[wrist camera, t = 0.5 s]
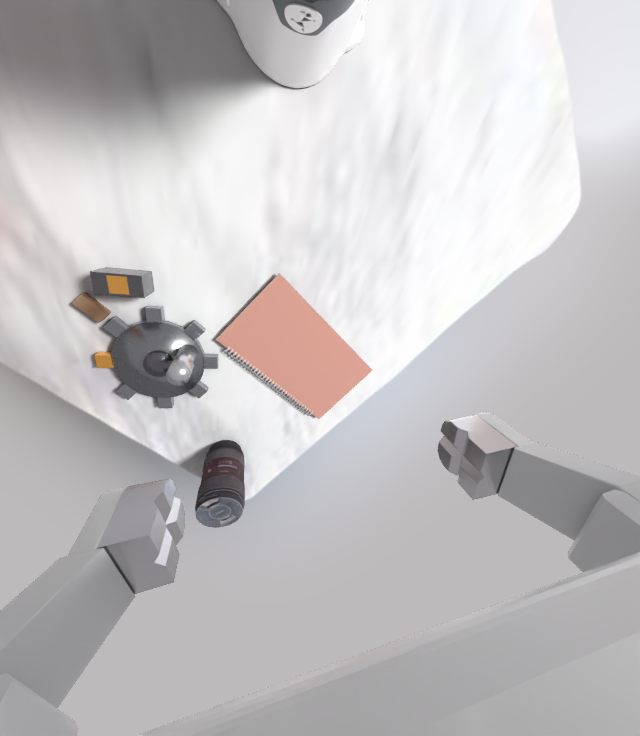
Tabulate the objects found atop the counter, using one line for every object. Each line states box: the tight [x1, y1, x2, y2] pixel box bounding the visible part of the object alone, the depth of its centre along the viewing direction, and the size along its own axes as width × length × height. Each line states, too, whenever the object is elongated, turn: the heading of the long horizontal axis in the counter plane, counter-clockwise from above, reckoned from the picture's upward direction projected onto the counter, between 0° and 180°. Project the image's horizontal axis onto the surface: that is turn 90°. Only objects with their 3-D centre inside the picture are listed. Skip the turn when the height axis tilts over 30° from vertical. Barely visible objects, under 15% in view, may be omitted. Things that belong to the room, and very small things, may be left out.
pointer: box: [72, 293, 111, 323], centre depth 42 cm, size 4×2×2 cm, turn 38°
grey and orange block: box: [90, 267, 154, 298], centre depth 40 cm, size 3×6×5 cm, turn 83°
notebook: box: [216, 273, 372, 419], centre depth 54 cm, size 27×17×2 cm, turn 42°
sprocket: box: [94, 306, 218, 408], centre depth 44 cm, size 18×18×10 cm
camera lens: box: [195, 440, 245, 527], centre depth 54 cm, size 8×8×15 cm
